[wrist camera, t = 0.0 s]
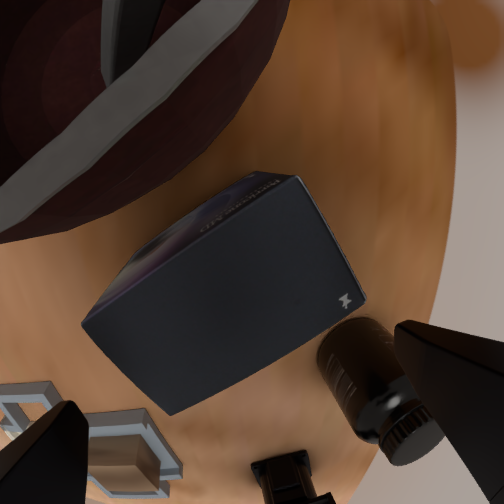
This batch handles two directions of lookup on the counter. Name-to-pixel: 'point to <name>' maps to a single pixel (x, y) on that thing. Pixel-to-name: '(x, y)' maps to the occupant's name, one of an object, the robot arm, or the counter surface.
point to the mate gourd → (116, 98)
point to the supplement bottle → (377, 391)
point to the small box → (225, 292)
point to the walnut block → (123, 463)
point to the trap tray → (93, 430)
